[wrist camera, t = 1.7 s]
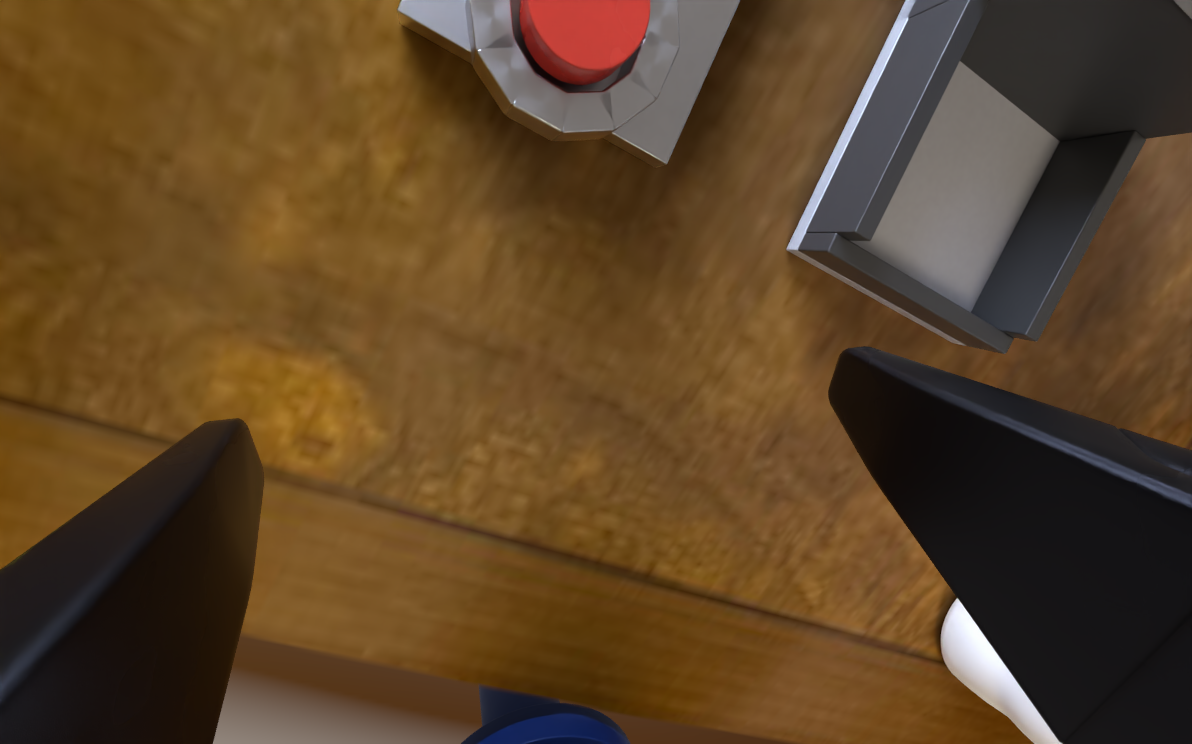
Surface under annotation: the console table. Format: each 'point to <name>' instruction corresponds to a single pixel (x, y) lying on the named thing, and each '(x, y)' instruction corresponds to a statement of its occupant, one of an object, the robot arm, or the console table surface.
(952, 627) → the water bottle
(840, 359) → the robot arm
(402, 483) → the console table surface
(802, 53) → the console table surface
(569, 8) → the button
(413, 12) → the button block
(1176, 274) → the console table surface
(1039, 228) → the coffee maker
